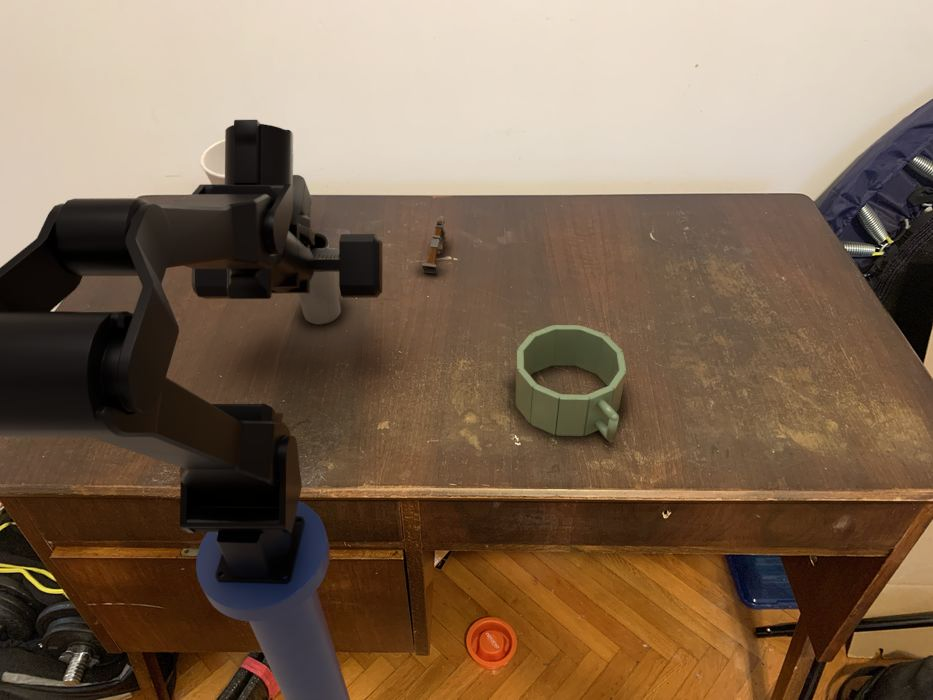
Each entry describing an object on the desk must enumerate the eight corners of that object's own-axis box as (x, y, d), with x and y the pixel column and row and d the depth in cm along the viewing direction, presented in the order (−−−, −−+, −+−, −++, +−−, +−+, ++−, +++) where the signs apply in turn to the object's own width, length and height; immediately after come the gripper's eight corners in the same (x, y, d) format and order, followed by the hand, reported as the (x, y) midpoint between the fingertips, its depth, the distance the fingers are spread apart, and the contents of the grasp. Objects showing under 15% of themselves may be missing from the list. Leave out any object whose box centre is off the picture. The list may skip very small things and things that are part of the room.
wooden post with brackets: (451, 232, 100) (447, 213, 95) (440, 282, 97) (435, 266, 92) (438, 230, 100) (434, 212, 96) (426, 281, 97) (421, 264, 93)
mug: (496, 382, 80) (497, 345, 76) (580, 349, 83) (584, 313, 80) (565, 469, 71) (570, 433, 67) (655, 429, 74) (664, 392, 71)
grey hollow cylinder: (317, 297, 91) (304, 228, 84) (348, 307, 90) (336, 237, 82) (296, 318, 88) (280, 248, 81) (327, 329, 87) (313, 258, 80)
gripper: (370, 165, 66) (390, 206, 81) (166, 167, 66) (225, 207, 82) (370, 287, 65) (390, 305, 81) (165, 288, 66) (224, 306, 81)
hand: (307, 278), depth 81 cm, fingers open, 9 cm apart
